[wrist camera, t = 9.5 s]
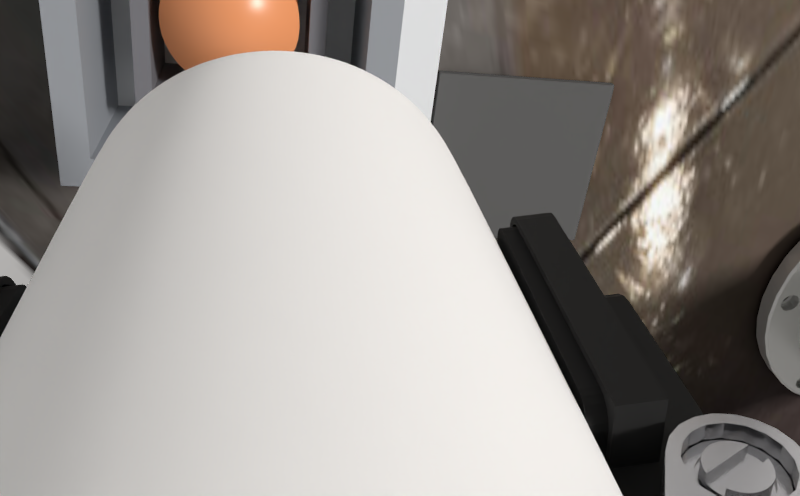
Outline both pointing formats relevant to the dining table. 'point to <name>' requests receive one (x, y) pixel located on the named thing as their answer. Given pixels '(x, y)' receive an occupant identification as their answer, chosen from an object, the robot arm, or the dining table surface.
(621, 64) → the dining table surface
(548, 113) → the mat
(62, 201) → the dining table surface
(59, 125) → the box
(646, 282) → the dining table surface
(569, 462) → the can
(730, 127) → the dining table surface
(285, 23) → the button
